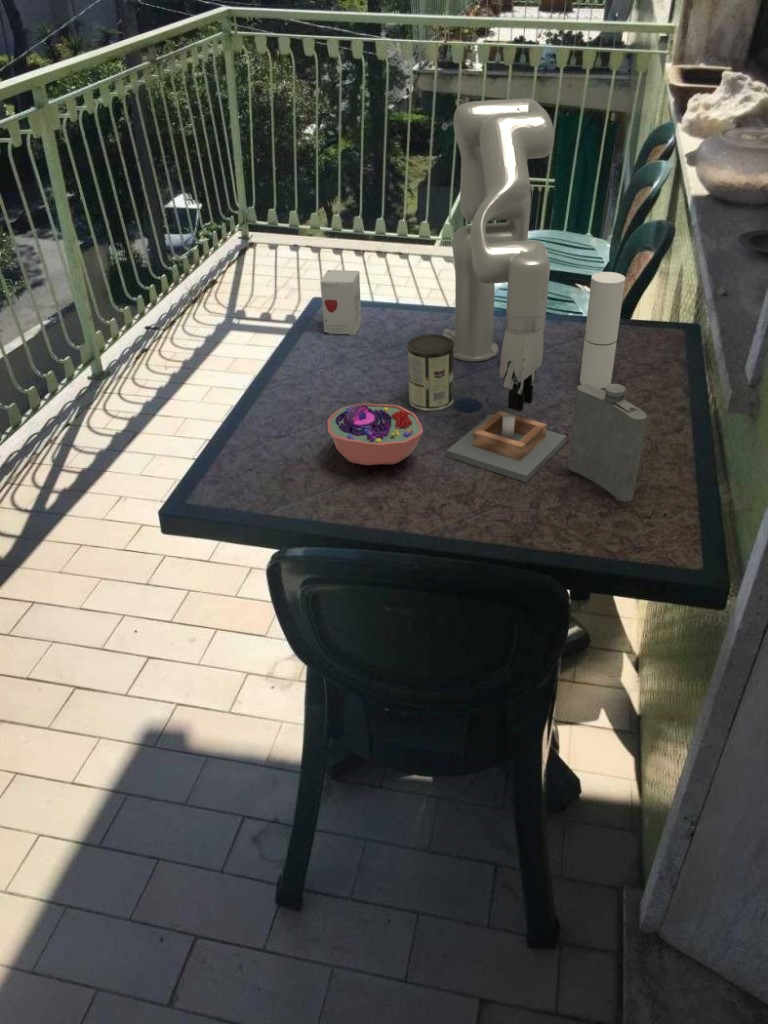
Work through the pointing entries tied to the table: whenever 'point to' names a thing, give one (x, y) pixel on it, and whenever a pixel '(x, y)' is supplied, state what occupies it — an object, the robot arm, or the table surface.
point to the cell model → (374, 433)
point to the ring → (506, 446)
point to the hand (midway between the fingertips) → (519, 404)
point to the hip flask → (607, 439)
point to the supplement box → (341, 301)
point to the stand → (503, 463)
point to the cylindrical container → (602, 328)
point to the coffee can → (430, 372)
